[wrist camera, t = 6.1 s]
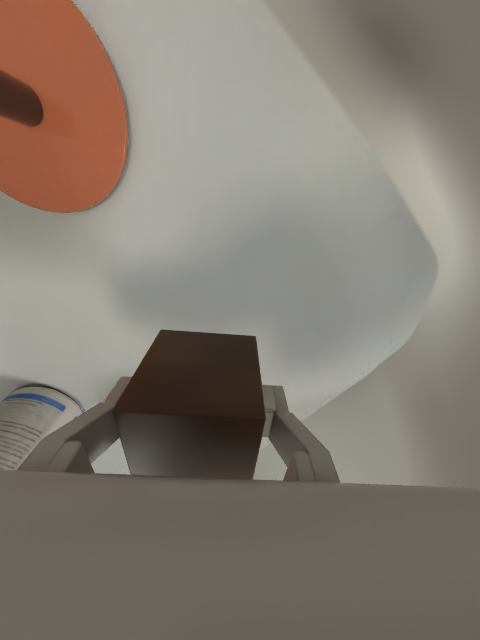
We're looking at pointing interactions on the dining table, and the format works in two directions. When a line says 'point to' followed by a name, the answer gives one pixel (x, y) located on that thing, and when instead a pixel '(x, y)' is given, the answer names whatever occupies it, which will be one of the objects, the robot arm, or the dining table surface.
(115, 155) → the bowl lid
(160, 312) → the dining table surface
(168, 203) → the dining table surface
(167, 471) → the block
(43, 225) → the dining table surface
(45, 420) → the supplement tub
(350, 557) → the robot arm
